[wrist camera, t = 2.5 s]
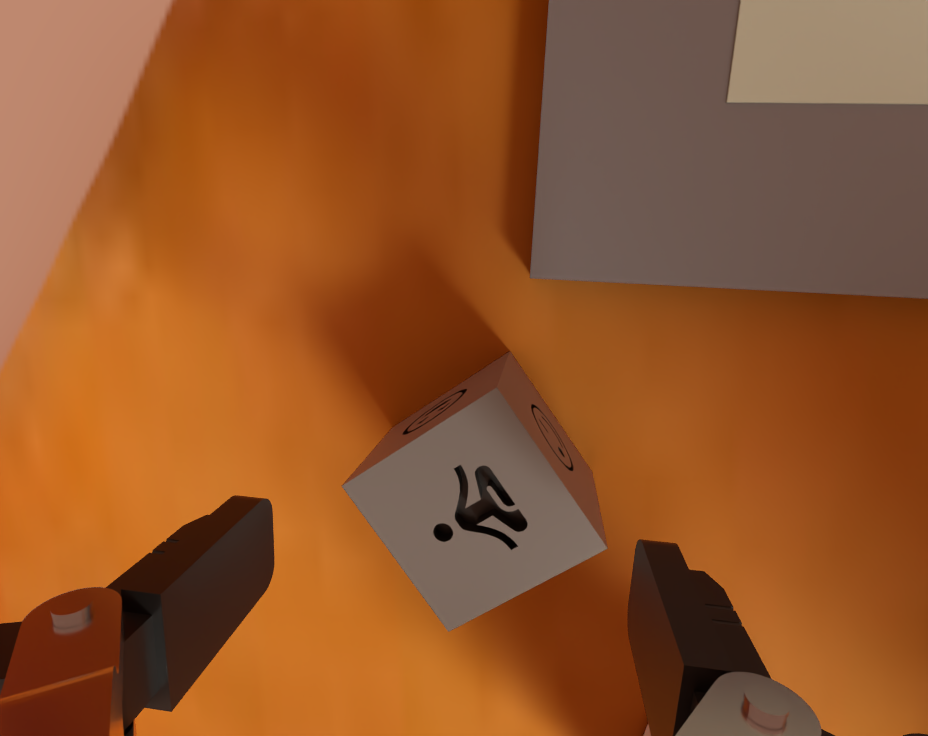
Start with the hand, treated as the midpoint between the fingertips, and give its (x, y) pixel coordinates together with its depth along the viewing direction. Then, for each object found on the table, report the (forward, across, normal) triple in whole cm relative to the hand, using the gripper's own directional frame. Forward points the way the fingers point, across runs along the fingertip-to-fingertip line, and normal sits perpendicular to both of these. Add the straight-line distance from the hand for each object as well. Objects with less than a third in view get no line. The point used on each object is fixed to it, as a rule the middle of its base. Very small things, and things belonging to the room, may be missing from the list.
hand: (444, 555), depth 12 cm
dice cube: (+8, 0, 0) cm, 8 cm away
